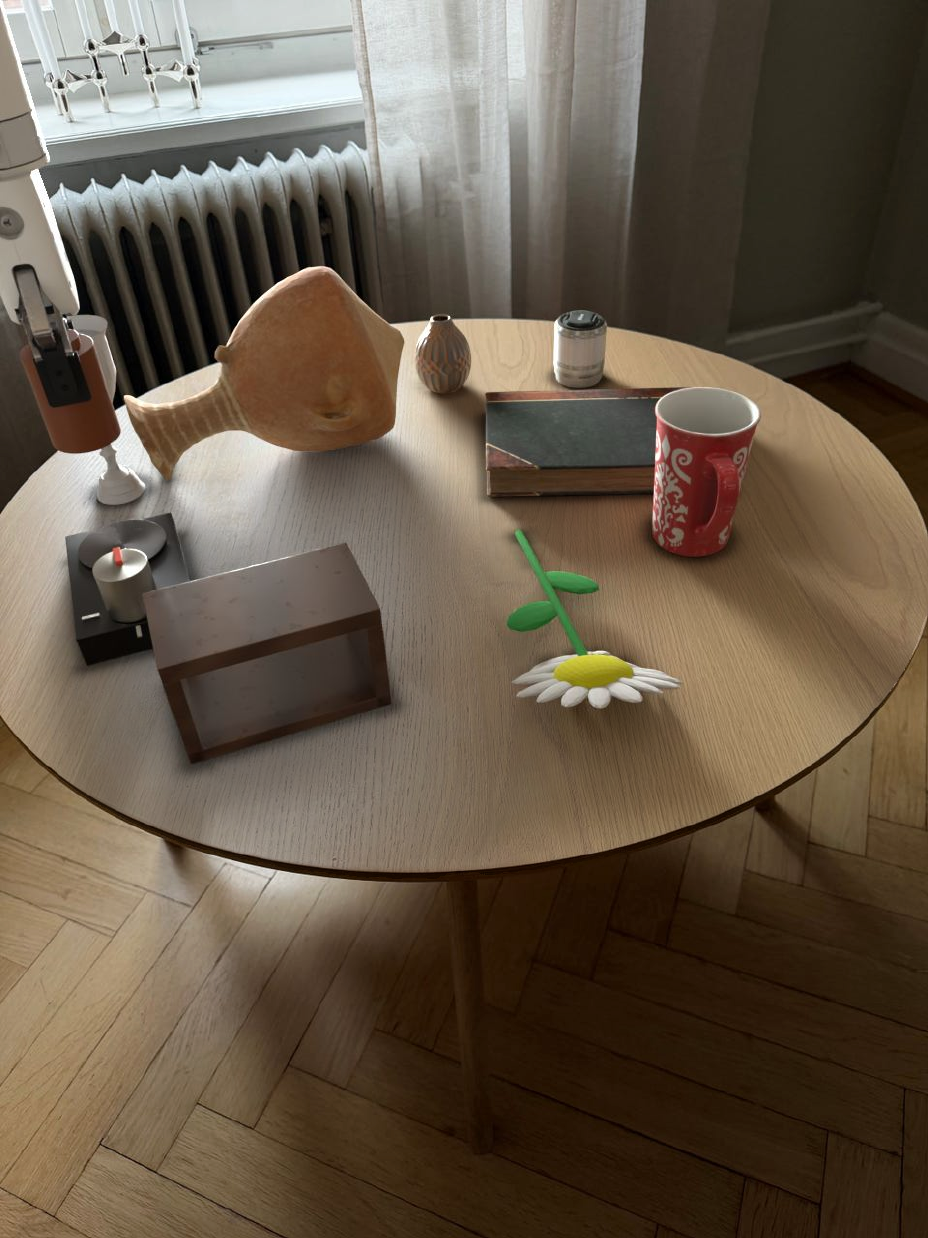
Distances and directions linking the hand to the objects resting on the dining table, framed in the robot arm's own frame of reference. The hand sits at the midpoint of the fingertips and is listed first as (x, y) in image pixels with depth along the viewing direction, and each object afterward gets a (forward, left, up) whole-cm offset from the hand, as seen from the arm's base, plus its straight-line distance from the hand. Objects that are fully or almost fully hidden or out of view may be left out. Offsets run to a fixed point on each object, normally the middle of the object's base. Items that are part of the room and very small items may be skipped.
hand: (68, 383), depth 75 cm
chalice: (0, +15, -20) cm, 25 cm away
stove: (0, -4, -19) cm, 20 cm away
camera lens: (+56, +18, -20) cm, 62 cm away
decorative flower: (+33, -24, -20) cm, 46 cm away
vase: (+40, +23, -20) cm, 50 cm away
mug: (+50, -18, -20) cm, 57 cm away
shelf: (+9, -22, -19) cm, 31 cm away
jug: (+18, +17, -20) cm, 32 cm away
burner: (0, 0, -16) cm, 16 cm away
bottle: (0, 0, -5) cm, 5 cm away
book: (+50, +1, -20) cm, 54 cm away
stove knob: (0, -10, -16) cm, 19 cm away
